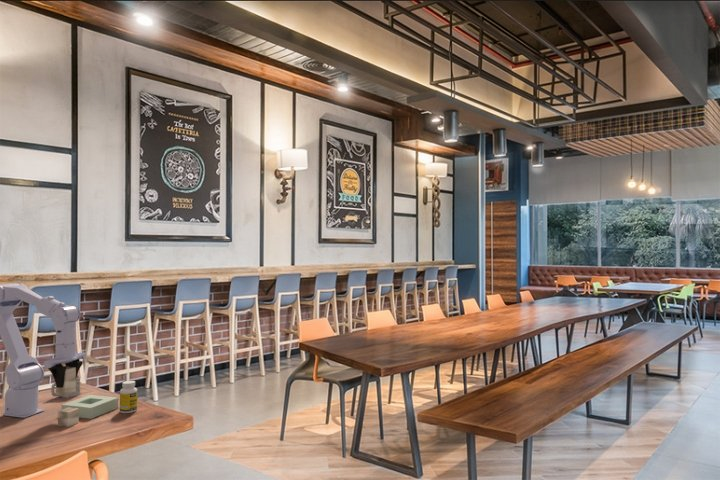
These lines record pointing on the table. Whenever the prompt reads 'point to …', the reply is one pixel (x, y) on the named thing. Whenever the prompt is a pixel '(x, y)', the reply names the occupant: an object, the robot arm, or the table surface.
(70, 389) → the tall beige block
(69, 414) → the short pin
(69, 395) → the mug
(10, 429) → the table surface
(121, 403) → the supplement bottle
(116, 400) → the hole block
